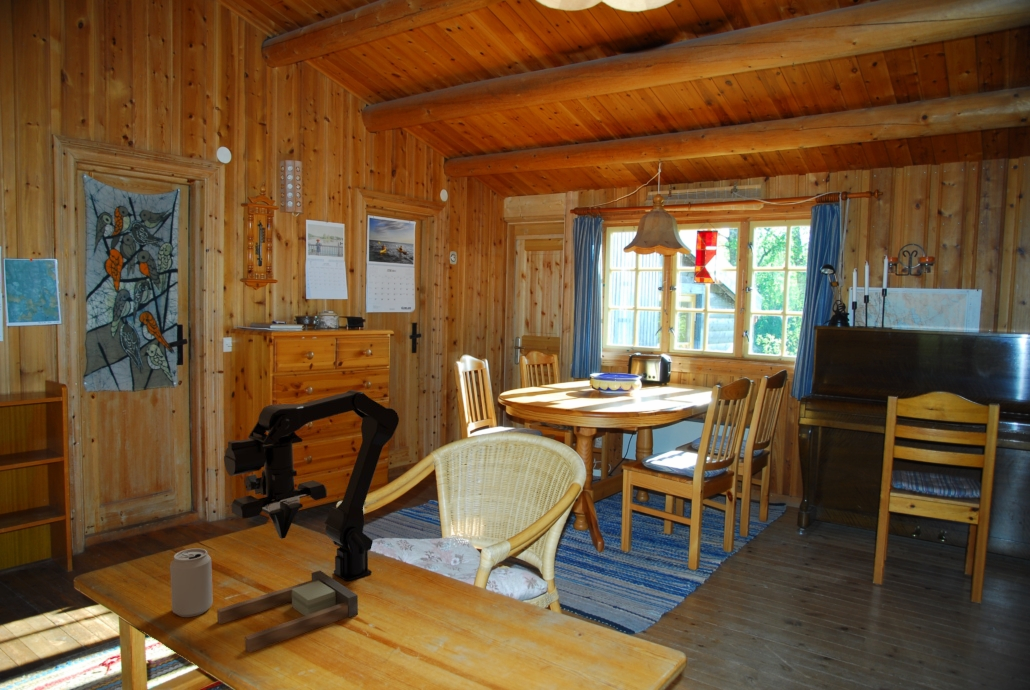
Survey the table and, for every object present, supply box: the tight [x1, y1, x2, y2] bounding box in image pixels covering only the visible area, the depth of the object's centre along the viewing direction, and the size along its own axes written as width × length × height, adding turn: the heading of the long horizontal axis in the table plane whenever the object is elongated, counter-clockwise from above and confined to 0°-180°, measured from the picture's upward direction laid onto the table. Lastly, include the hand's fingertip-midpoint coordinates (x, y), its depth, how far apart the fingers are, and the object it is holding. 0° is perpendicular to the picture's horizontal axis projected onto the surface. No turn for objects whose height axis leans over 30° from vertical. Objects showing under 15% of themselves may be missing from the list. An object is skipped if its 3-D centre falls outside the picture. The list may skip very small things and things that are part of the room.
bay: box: [216, 570, 359, 654], centre depth 137 cm, size 22×16×4 cm
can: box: [169, 547, 214, 618], centre depth 140 cm, size 8×8×12 cm
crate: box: [291, 581, 336, 616], centre depth 142 cm, size 6×7×4 cm
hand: (282, 537), depth 146 cm, fingers closed
